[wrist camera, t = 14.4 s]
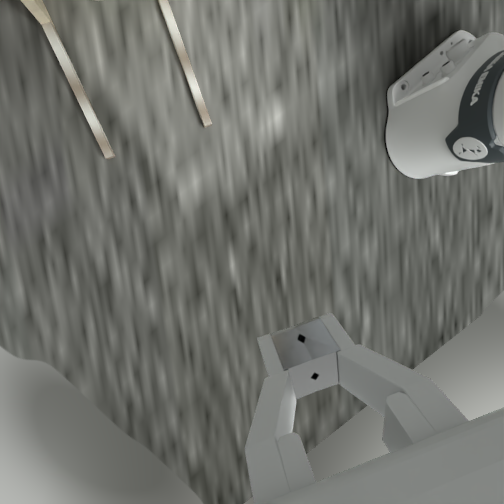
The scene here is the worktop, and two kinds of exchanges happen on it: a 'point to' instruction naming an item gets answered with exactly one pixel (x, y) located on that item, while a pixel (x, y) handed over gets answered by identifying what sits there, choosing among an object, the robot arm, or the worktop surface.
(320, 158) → the worktop surface
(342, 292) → the worktop surface
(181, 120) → the worktop surface
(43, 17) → the tunnel
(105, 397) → the worktop surface
